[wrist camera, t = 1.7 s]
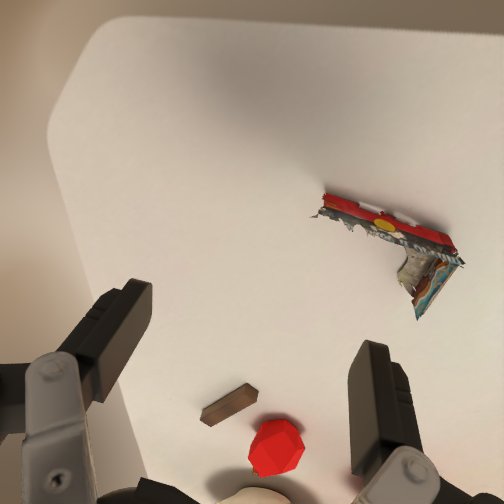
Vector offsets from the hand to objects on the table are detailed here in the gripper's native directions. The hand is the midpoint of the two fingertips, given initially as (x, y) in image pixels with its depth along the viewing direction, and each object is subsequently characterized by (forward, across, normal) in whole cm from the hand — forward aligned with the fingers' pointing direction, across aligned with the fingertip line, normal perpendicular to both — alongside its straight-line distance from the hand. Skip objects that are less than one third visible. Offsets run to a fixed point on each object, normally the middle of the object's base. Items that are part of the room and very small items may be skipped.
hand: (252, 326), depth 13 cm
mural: (+18, -8, +6) cm, 21 cm away
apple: (+19, -7, +37) cm, 42 cm away
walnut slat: (+18, +1, +34) cm, 39 cm away
